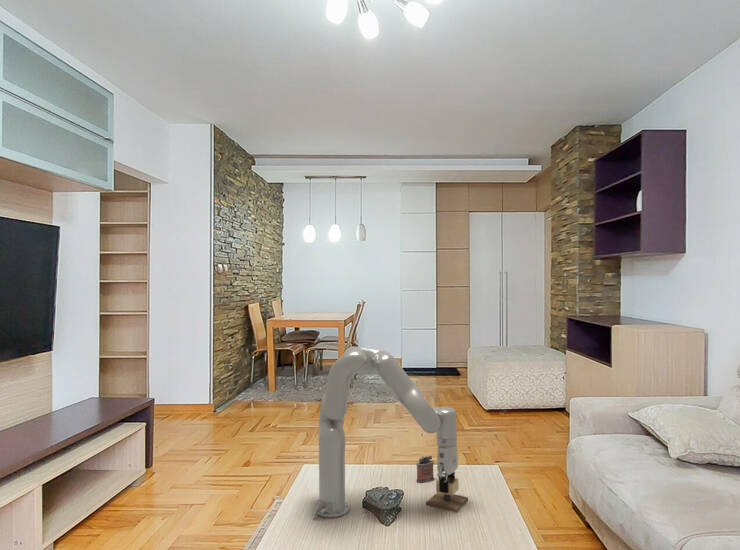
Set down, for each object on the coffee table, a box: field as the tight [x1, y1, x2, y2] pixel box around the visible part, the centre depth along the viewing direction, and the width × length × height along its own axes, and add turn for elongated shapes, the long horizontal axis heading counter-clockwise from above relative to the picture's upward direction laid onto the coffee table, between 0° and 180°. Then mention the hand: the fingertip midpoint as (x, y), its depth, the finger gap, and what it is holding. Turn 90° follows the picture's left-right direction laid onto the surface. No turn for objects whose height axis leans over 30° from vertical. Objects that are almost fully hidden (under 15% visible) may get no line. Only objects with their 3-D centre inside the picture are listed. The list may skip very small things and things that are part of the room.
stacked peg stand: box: [425, 477, 469, 513], centre depth 187 cm, size 12×12×9 cm
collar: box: [435, 475, 460, 495], centre depth 187 cm, size 6×6×4 cm
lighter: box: [416, 455, 435, 484], centre depth 208 cm, size 8×3×10 cm, turn 118°
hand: (447, 488), depth 187 cm, fingers closed on collar, 6 cm apart
